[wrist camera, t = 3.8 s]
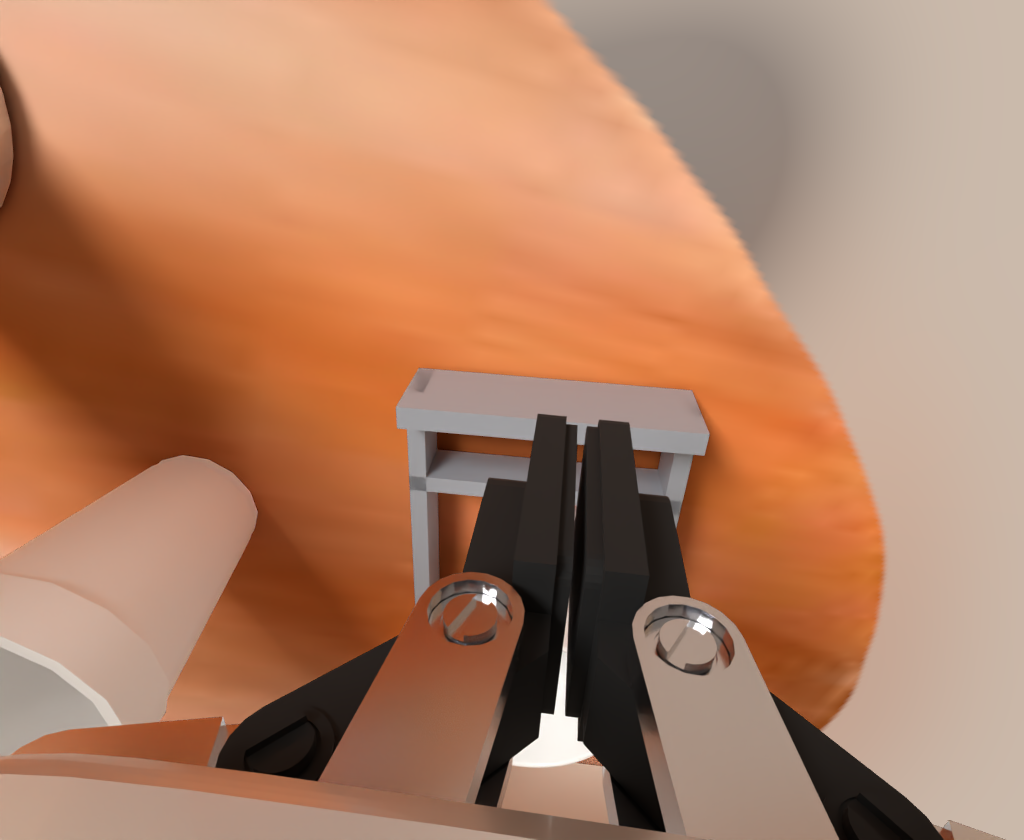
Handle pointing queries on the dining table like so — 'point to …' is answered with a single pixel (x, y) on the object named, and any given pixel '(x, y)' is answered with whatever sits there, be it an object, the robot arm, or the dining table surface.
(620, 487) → the robot arm
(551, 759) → the white cup
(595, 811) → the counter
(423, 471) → the tray
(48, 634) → the foam cup
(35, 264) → the dining table surface
